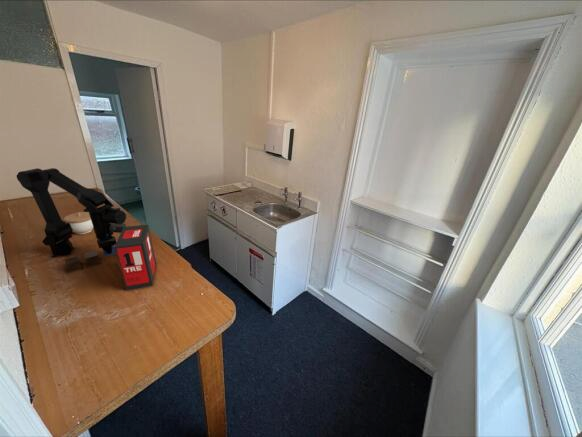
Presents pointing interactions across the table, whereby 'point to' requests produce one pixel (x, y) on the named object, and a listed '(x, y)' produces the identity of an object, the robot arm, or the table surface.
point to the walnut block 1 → (73, 263)
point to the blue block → (111, 253)
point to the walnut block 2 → (92, 258)
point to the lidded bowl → (80, 222)
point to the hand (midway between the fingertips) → (109, 251)
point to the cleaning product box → (136, 256)
